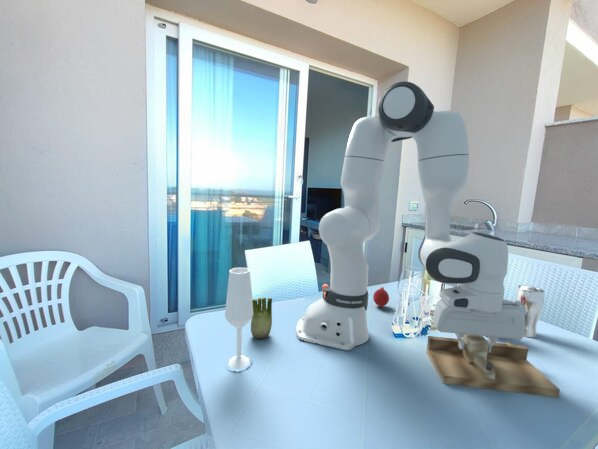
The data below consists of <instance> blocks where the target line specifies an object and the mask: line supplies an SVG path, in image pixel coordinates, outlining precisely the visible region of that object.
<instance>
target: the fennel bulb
mask: <svg viewBox="0 0 598 449" xmlns="http://www.w3.org/2000/svg"><path fill="white" fill-rule="evenodd" d="M252 304H253V316H252V318H251V320H250V321H251V322H250V333H251V335H252V337H254V338H255V339H266V338H268V336H269V335H270V333H271V329H272V326H273V324H272V323H273V316H272V314H273V311H272V310H273V309H272V308H273V306H272V305H273V297H268V298H267V297H261V298H260V297H259V298H252ZM265 337H266V338H265Z"/></svg>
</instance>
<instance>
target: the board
mask: <svg viewBox="0 0 598 449" xmlns="http://www.w3.org/2000/svg"><path fill="white" fill-rule="evenodd" d="M458 343H459V340H458V338H455V337H454V338H453V337H452V338H451V337H441V336H435V335H427V344H426V355H427V356H428V358H429V359H430V362H431V363H432V365H433V367H434V369H435V371H436V372H437V374H438V376H439V378H440V379H441V381H442V384H444V385H445V384H446V385H453V386H461V387H470V388H475V389H476V388H477V389H484V390H485V389H486V390H493V391H503V392H509V393H517V394H525V395H531V396H532V395H533V396H534V395H536V396H542V397H550V398H558V399H559V397H560V392H561V391H560V390H561V389H560V388H559V387H558V386H557V385H556V384H554V383H553V382H552V381H551V380H550V379H549V378H547V377H546V375H544V374H543V373H542V372H541V371H540V370H539V369H537V367H535V366H534V364H532V363H530V362H529V360H528V353H529V348H528V347H527V346H525V345H523V344H522V345H520V344H519V345H518V344H512V343H510V342H504V343H501V342H500V343H499V342H496V343H495V344H494V345H493V346H492V347H491V352H487V361H486V362H491V363H492V368H493V369H494V371H495V380H491V379H485V378H484V377H483V376H482V374H481V373H480V372H479V371H478V369H477V368H476V367H475V365H474V364H472V363H468V362H467V360H466V359H465V358H464V356H463V355H462V354H461V352H462V350H461V349H460V348H459V346H458Z"/></svg>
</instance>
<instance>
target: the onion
mask: <svg viewBox="0 0 598 449" xmlns="http://www.w3.org/2000/svg"><path fill="white" fill-rule="evenodd" d="M372 300H373V302H374V304H376V305H377V307H379V308H382V307H384V306H386V305H387V304H388V303H389V302H390V296H389V293H388V292H387V291H386V289H385V288H384V286H381V287H379V289H376V291H374V293H373V297H372Z"/></svg>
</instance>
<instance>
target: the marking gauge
mask: <svg viewBox="0 0 598 449" xmlns="http://www.w3.org/2000/svg"><path fill="white" fill-rule="evenodd" d="M462 339H463V340H464V341H465V342H466V343H467V344H468V347H467V348H468V349H467V350H462V352H461V354H462V355H463V356H464V358H465V359H466V360H467V362H468V363H472V364H474V365H475V367H476V368H477V369H478V371H479V372H480V373H481V374H482V376H483V377H484V378H485V379H491V380H495V371H494V369H493V368H492V363H491V362H486V361H487V351H488V341H487V339H486V338H485V336H477V335H467V334H465V336H464V338H462Z"/></svg>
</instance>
